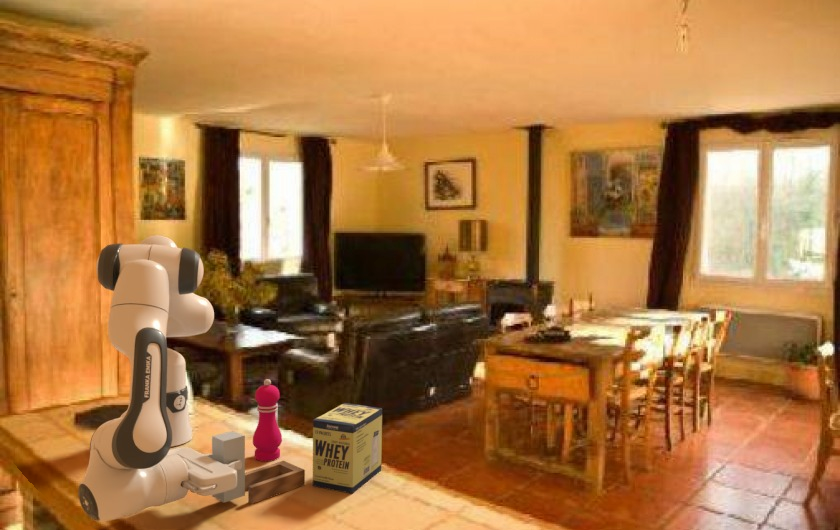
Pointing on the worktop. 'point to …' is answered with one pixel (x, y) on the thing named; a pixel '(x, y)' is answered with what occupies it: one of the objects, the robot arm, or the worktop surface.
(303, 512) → the worktop surface
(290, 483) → the rack
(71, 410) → the worktop surface
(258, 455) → the pepper mill
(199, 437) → the worktop surface
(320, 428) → the protein box
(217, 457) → the tall white pillar
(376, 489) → the worktop surface
